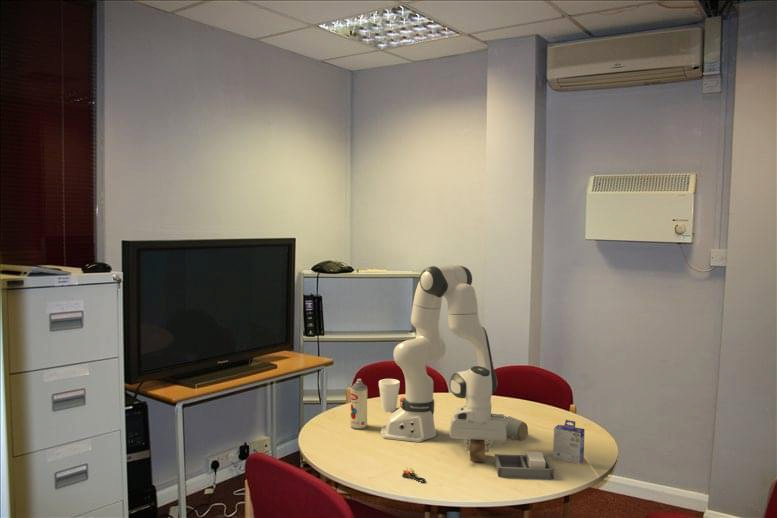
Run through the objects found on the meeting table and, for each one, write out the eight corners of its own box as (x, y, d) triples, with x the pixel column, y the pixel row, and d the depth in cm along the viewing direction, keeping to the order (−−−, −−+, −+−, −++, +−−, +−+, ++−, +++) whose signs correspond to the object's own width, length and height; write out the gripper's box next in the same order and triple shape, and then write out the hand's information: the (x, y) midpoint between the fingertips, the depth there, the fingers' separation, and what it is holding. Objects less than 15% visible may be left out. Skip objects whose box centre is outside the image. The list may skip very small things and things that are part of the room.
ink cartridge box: (584, 461, 217) (585, 422, 216) (580, 467, 212) (581, 426, 211) (556, 456, 222) (558, 417, 221) (552, 461, 217) (553, 421, 216)
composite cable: (427, 483, 198) (427, 475, 198) (415, 486, 196) (416, 479, 196) (410, 472, 206) (410, 465, 206) (398, 475, 204) (398, 468, 204)
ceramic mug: (518, 442, 235) (519, 423, 235) (500, 437, 241) (501, 418, 240) (533, 436, 242) (533, 417, 242) (515, 431, 248) (516, 412, 248)
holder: (498, 479, 201) (498, 467, 200) (494, 465, 213) (494, 454, 212) (553, 481, 200) (553, 470, 199) (546, 467, 211) (546, 455, 211)
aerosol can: (347, 425, 252) (348, 378, 251) (362, 423, 256) (362, 376, 254) (355, 430, 246) (355, 382, 245) (370, 427, 250) (370, 380, 248)
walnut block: (470, 460, 212) (471, 444, 212) (469, 451, 220) (469, 435, 220) (484, 461, 212) (485, 445, 211) (483, 452, 220) (483, 436, 219)
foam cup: (380, 406, 279) (380, 378, 279) (400, 407, 278) (400, 379, 277) (377, 412, 270) (377, 383, 269) (397, 413, 269) (398, 384, 268)
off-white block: (529, 475, 202) (530, 460, 202) (526, 465, 210) (526, 451, 210) (545, 476, 202) (545, 461, 201) (540, 466, 210) (541, 452, 209)
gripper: (507, 411, 217) (505, 449, 218) (450, 408, 219) (448, 445, 220) (509, 417, 211) (507, 456, 212) (450, 414, 213) (448, 452, 214)
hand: (477, 450), depth 216 cm, fingers closed on walnut block, 5 cm apart
